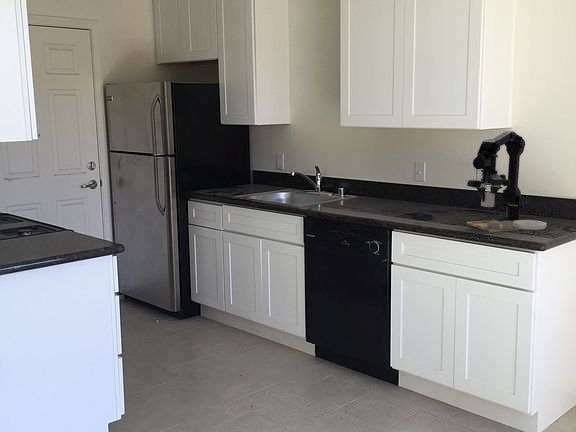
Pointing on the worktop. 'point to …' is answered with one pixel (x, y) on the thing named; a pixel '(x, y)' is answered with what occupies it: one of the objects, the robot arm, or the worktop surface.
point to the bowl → (529, 224)
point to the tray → (483, 226)
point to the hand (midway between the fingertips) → (487, 201)
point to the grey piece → (493, 225)
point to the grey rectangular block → (488, 200)
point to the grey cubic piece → (507, 224)
